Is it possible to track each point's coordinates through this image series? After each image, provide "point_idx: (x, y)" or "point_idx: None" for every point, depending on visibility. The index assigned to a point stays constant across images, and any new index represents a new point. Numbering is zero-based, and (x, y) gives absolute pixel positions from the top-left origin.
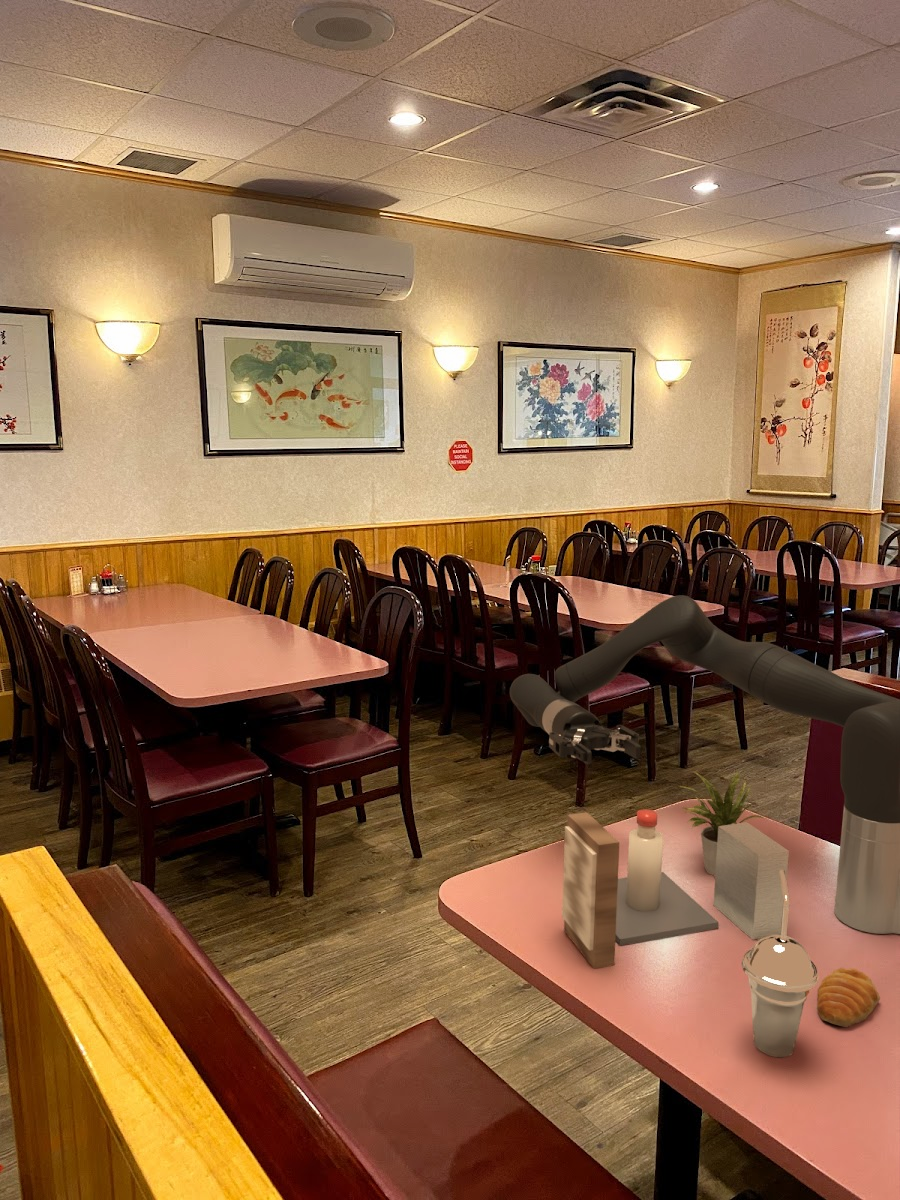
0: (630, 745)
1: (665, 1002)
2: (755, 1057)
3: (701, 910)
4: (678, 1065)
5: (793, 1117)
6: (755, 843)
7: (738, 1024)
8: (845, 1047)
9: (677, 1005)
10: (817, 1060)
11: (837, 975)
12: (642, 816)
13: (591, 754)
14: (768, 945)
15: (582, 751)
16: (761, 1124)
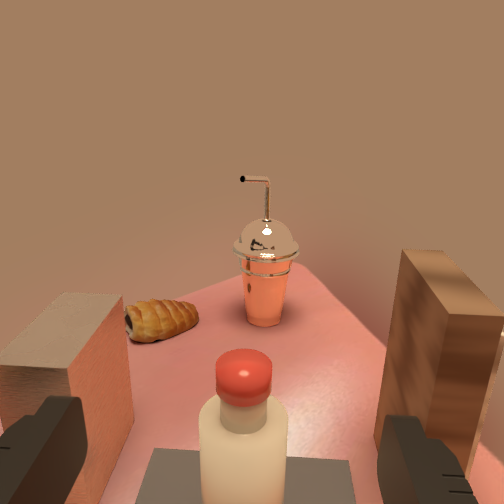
0: (48, 460)
1: (333, 371)
2: (288, 315)
3: (149, 485)
4: (359, 323)
5: (299, 286)
6: (83, 313)
7: (276, 337)
8: (208, 305)
9: (322, 365)
10: (242, 304)
11: (152, 312)
12: (267, 357)
13: (384, 423)
14: (281, 223)
15: (439, 465)
16: (324, 287)
